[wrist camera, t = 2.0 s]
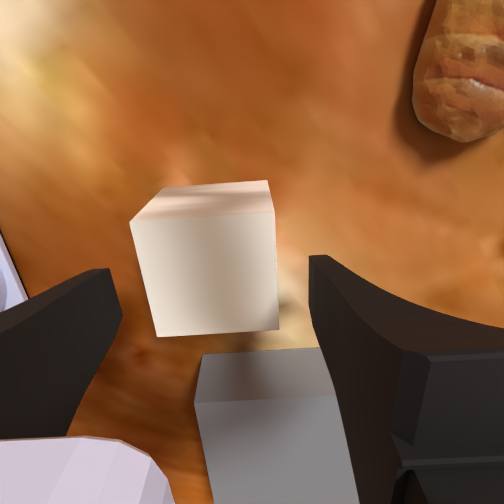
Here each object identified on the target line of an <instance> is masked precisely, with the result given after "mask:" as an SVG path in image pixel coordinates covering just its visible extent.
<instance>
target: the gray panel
mask: <svg viewBox="0 0 504 504" xmlns="http://www.w3.org/2000/svg"><path fill="white" fill-rule="evenodd" d="M194 406H195V411H196V416H197V421H198V426H199V431H200V436H201V441H202V446H203V451H204V455H205V460H206V465H207V470H208V475H209V480H210V485H211V490H212V495H213V500H214V504H359V498H358V493H357V488H356V484H355V479H354V474H353V469H352V464H351V460H350V455H349V450H348V446H347V441H346V437H345V432H344V428H343V423H342V419H341V414H340V410H339V406H338V402H337V397H336V393H335V390H334V386H333V383H332V380H331V377H330V374H329V371H328V368H327V365H326V362H325V360H324V357H323V354H322V351H321V348H320V347H316V348H299V349H282V350H265V351H249V352H232V353H215V354H203V356H202V361H201V367H200V372H199V378H198V383H197V389H196V394H195V400H194Z"/></svg>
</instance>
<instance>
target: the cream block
mask: <svg viewBox="0 0 504 504" xmlns="http://www.w3.org/2000/svg"><path fill="white" fill-rule="evenodd" d="M129 223H130V227H131V231H132V235H133V239H134V243H135V247H136V251H137V256H138V260H139V264H140V268H141V272H142V276H143V280H144V284H145V288H146V293H147V297H148V301H149V305H150V309H151V313H152V317H153V321H154V325H155V330H156V334H157V337H168V336H184V335H201V334H217V333H234V332H250V331H267V330H279V309H278V284H277V259H276V234H275V212H274V207H273V203H272V199H271V195H270V190H269V186H268V182H267V180H262V181H248V182H234V183H220V184H205V185H191V186H177V187H164V188H163V189H162V190H161V191H160V192H159V193H158V194H157V195H156V196H155V197H154V198H153V199H152V200H151V201H150V202H149V203H148V204H147V205H146V206H145V207H144V208H143V209H142V210H141V211H140V212H139V213H138V214H137V215H136V216H135V217H134V218H133V219H132V220H131V221H130V222H129Z"/></svg>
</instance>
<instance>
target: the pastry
mask: <svg viewBox="0 0 504 504" xmlns="http://www.w3.org/2000/svg"><path fill="white" fill-rule="evenodd" d="M412 104H413V108H414V111H415V114H416V117H417V119H418V120H419V122H420V123H422V124H423V125H425V126H426V127H427V128H429V129H430V130H432V131H434V132H436V133H439V134H442V135H444V136H447V137H449V138H451V139H453V140H455V141H458V142H462V143H466V142H471V141H473V140H476V139H480V138H482V137H486V136H491V135H493V134H495V133H496V132H498V131H499V130H501V129H503V128H504V0H436V4H435V7H434V10H433V13H432V16H431V19H430V22H429V25H428V28H427V31H426V34H425V37H424V40H423V43H422V46H421V49H420V52H419V56H418V59H417V62H416V65H415V68H414V73H413V93H412Z"/></svg>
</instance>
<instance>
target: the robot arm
mask: <svg viewBox="0 0 504 504" xmlns="http://www.w3.org/2000/svg"><path fill="white" fill-rule="evenodd" d="M309 309H310V314H311V319H312V324H313V328H314V331H315V334H316V337H317V340H318V343H319V345H320V348H321V351H322V354H323V357H324V360H325V362H326V365H327V368H328V371H329V374H330V377H331V380H332V383H333V386H334V390H335V393H336V397H337V402H338V406H339V410H340V414H341V419H342V423H343V428H344V432H345V437H346V441H347V446H348V450H349V455H350V460H351V464H352V469H353V474H354V479H355V484H356V488H357V493H358V498H359V504H504V328H499V327H494V326H489V325H484V324H480V323H476V322H472V321H468V320H464V319H460V318H457V317H453V316H450V315H446V314H443V313H440V312H437V311H434V310H431V309H428V308H425V307H422V306H419V305H417V304H414V303H412V302H409V301H407V300H404V299H402V298H400V297H398V296H395V295H393V294H391V293H389V292H387V291H385V290H383V289H381V288H379V287H377V286H375V285H374V284H372V283H370V282H368V281H367V280H365V279H363V278H362V277H360V276H358V275H357V274H355V273H354V272H352V271H350V270H349V269H347V268H346V267H344V266H343V265H342V264H340V263H339V262H337V261H336V260H334V259H333V258H331V257H330V256H328V255H312V256H309ZM122 316H123V314H122V310H121V307H120V304H119V300H118V297H117V293H116V290H115V286H114V283H113V279H112V276H111V273H110V269H109V268H105V269H92V270H89V271H86V272H84V273H81V274H79V275H77V276H75V277H73V278H70V279H68V280H66V281H64V282H62V283H60V284H58V285H56V286H54V287H52V288H50V289H48V290H46V291H44V292H43V293H41V294H39V295H36V296H34V297H32V298H30V299H28V297H27V295H26V293H25V290H24V288H23V286H22V283H21V281H20V279H19V276H18V274H17V272H16V270H15V267H14V265H13V263H12V260H11V258H10V256H9V253H8V251H7V249H6V246H5V244H4V242H3V239H2V237H1V235H0V504H175V502H174V499H173V496H172V493H171V489H170V486H169V483H168V479H167V478H166V477H165V475H164V474H163V472H162V471H161V470H160V468H159V467H158V466H157V464H156V463H155V462H154V460H153V459H152V458H151V457H150V455H149V454H148V453H146V452H144V451H142V450H140V449H138V448H136V447H134V446H132V445H130V444H128V443H126V442H124V441H122V440H119V439H111V438H103V437H94V436H86V435H85V436H66V434H67V431H68V429H69V427H70V424H71V422H72V419H73V417H74V415H75V412H76V410H77V408H78V405H79V403H80V401H81V399H82V397H83V395H84V393H85V391H86V389H87V388H88V386H89V384H90V382H91V380H92V379H93V377H94V375H95V373H96V371H97V370H98V368H99V366H100V364H101V362H102V361H103V359H104V357H105V355H106V353H107V351H108V349H109V348H110V346H111V344H112V342H113V340H114V338H115V335H116V333H117V330H118V328H119V325H120V322H121V319H122Z"/></svg>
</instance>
